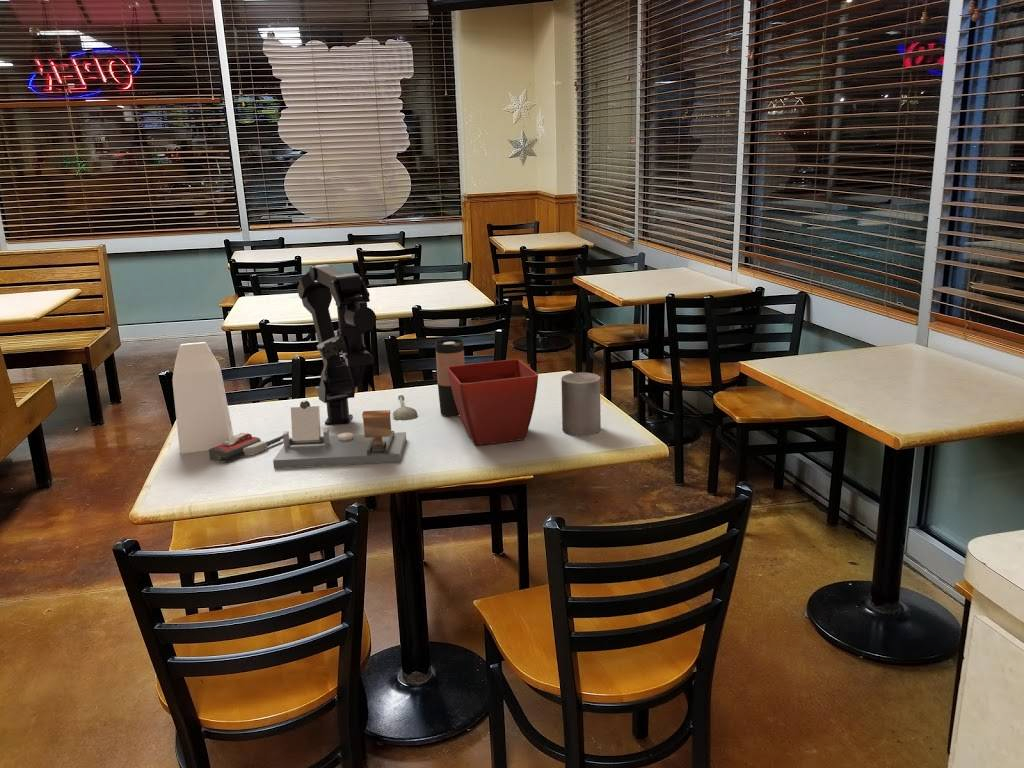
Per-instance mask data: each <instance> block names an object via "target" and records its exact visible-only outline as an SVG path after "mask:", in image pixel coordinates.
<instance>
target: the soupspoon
mask: <svg viewBox="0 0 1024 768" xmlns="http://www.w3.org/2000/svg"><path fill="white" fill-rule="evenodd" d="M404 396H405V395H403V394H400V395H398V397H397V399H398V400H399V401H400V405H401V407H398V408H397V409H395V410H393V412H392V417H393V419H394V420H396V421H399V420H401V421H402V422H403V421H412V420H415V419H417V417H418V412H417V410H416V409H415V408H414V407H413V408H412V407H410V406H406V405H405V402H404V401H403V400H404V399H405V397H404Z"/></svg>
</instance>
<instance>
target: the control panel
mask: <svg viewBox="0 0 1024 768" xmlns="http://www.w3.org/2000/svg"><path fill="white" fill-rule="evenodd" d="M391 432H392V434H391V436H389V437H382V441H386V448H385V451H379V452H372V446H373V443H374V441H375V437H369V438H365V434H364V433H361V434H353V433H352V432H343V433H339V434H337V435H330V432H329V429H327V428H326V429H325V428H324V431H323V432H322V433H323V435H321V437H324V444H310V445H290V444H289V439H292V437H290V432H289V430H287V431H284V432H283V433H282V435H283V439H282V440H283V446H282V447H281V449H280V450H279V451H278V453H277V454H276V455H275V457H274V458H273V460H272V463H273V469H286V468H285V467H294V468H307V467H306V466H314V467H328V466H327V465H334V466H349V465H348V464H354V465H367V464H366V463H374V464H390V463H392V462H393V463H401V461H400V460H402V456H403V454H404V450H405V446H406V442H407V432H406V431H403V432H401V431H399V432H395V430H391ZM402 453H403V454H402ZM393 463H392V464H393ZM345 464H347V465H345ZM323 465H324V466H323ZM325 465H326V466H325Z"/></svg>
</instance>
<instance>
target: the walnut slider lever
mask: <svg viewBox="0 0 1024 768" xmlns="http://www.w3.org/2000/svg"><path fill="white" fill-rule="evenodd" d="M361 417H362V420H363V421H362V422H363V431H364V432H363V434H365V438H369V437H375V441H374V443H373V446H372V452H379V451H385V448H386V441H382V437H389V436H391V434H392V432H391V431H392V421H391V409H383V410H380V409H379V410H364V411H362V413H361Z"/></svg>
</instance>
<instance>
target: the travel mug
mask: <svg viewBox="0 0 1024 768" xmlns="http://www.w3.org/2000/svg"><path fill="white" fill-rule="evenodd" d="M434 345H435V359H436V379H437V390H438V400H439V408H440V409H439V410H440V411H439V412H440V415H441V416H442V417H451V416H455V417H460V416H459V413H458V410H457V406H456V403H455V400H454V396H453V393H452V389H451V385H450V381H449V376H448V371H447V367H449V366H457V365H465V364H466V363H465V350H464V341H463V339H460V338H444V339H439V340H436V341H435V344H434ZM451 418H452V417H451Z"/></svg>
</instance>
